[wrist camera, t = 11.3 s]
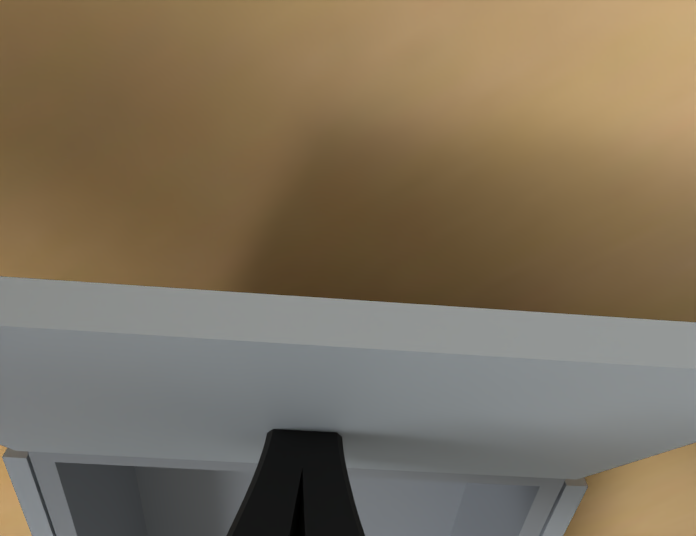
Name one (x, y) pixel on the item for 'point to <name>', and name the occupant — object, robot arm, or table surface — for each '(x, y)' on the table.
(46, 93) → the table surface
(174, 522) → the carton
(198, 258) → the table surface
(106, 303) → the flap
